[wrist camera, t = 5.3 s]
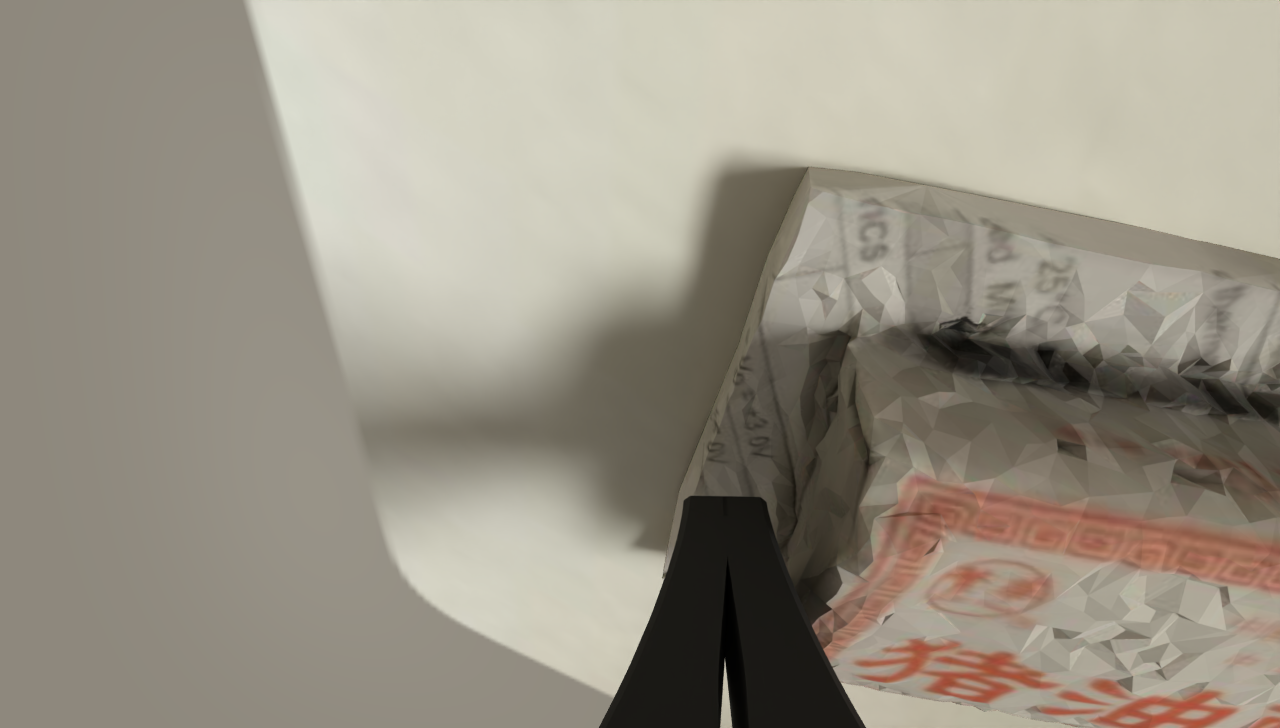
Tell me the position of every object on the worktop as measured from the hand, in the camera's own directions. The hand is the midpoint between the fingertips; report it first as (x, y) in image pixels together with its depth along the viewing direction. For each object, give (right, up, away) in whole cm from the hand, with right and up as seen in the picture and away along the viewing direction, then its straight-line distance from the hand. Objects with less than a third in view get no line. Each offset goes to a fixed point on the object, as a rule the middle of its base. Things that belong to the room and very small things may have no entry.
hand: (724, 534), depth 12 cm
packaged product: (+9, +1, +3) cm, 9 cm away
